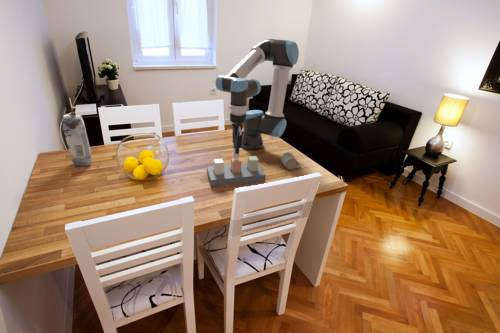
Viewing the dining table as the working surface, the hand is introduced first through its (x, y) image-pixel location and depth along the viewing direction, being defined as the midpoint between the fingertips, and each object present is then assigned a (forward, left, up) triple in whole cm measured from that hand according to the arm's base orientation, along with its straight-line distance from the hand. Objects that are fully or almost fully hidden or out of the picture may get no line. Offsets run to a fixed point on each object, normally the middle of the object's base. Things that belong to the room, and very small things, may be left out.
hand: (236, 158), depth 140 cm
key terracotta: (0, 0, -8) cm, 8 cm away
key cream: (0, -9, -8) cm, 12 cm away
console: (0, 0, -11) cm, 11 cm away
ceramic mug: (-6, +34, -12) cm, 37 cm away
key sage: (0, +9, -8) cm, 12 cm away
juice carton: (-29, -77, -11) cm, 83 cm away
